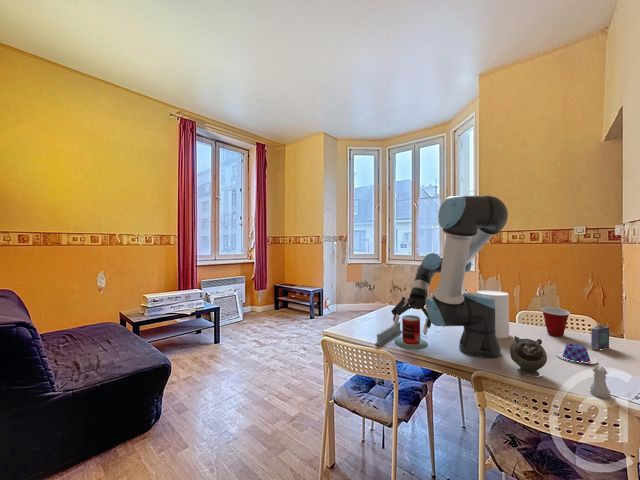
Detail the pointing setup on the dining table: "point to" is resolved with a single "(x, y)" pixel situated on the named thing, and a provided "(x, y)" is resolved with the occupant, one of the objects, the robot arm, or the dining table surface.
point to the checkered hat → (575, 353)
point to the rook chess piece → (600, 383)
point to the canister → (499, 311)
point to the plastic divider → (387, 335)
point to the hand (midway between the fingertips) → (408, 330)
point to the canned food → (411, 329)
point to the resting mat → (418, 346)
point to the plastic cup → (555, 320)
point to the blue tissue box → (599, 337)
